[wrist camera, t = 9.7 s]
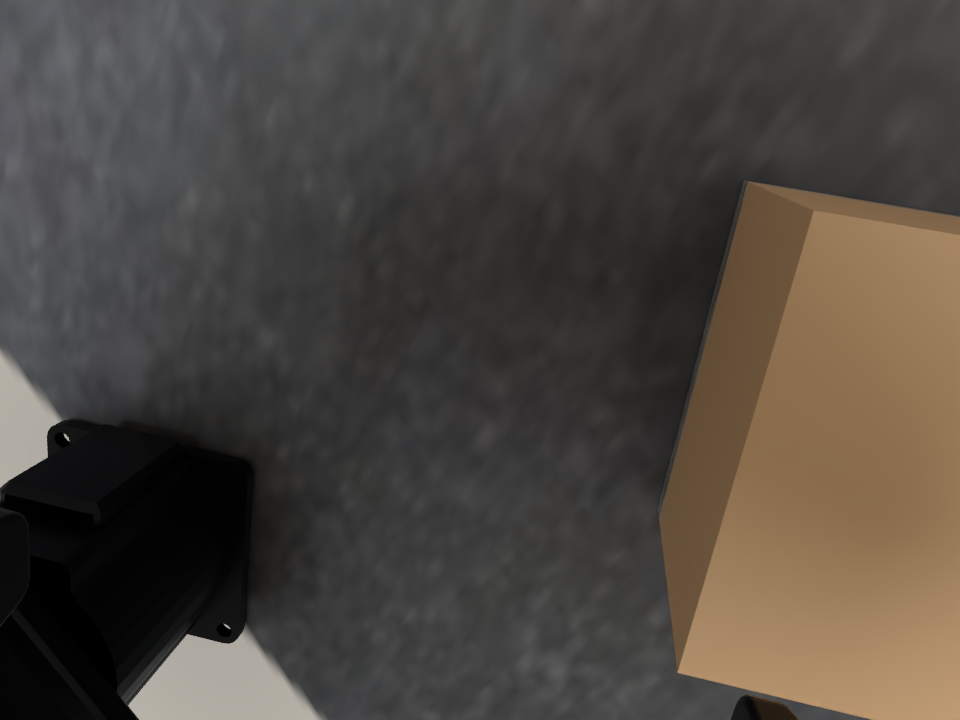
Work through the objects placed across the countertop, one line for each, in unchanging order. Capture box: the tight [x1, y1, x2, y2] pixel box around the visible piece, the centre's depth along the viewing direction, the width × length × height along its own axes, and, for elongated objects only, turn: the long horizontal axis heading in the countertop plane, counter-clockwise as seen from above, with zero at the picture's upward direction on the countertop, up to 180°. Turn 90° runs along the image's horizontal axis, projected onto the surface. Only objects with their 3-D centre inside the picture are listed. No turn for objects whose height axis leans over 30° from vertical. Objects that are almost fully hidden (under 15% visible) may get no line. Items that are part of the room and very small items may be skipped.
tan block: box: [659, 182, 960, 720], centre depth 16 cm, size 9×7×6 cm
